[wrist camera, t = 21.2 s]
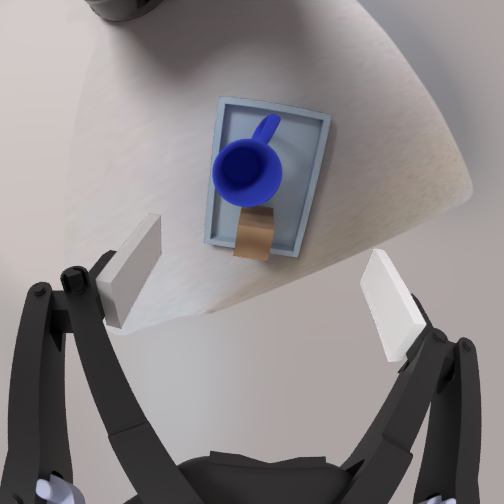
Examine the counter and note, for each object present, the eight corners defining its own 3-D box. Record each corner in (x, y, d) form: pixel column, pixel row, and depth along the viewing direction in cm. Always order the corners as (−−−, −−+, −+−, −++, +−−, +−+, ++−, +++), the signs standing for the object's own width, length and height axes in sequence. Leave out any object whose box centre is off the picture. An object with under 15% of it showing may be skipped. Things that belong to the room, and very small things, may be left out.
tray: (221, 96, 37) (219, 96, 34) (328, 114, 37) (331, 115, 35) (206, 236, 49) (203, 243, 47) (296, 250, 50) (297, 257, 48)
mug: (288, 131, 39) (309, 130, 30) (252, 200, 43) (263, 218, 34) (239, 107, 37) (247, 98, 28) (203, 178, 41) (200, 190, 32)
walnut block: (242, 203, 45) (237, 224, 38) (273, 208, 45) (274, 230, 38) (238, 230, 47) (233, 255, 40) (267, 235, 47) (267, 261, 41)
